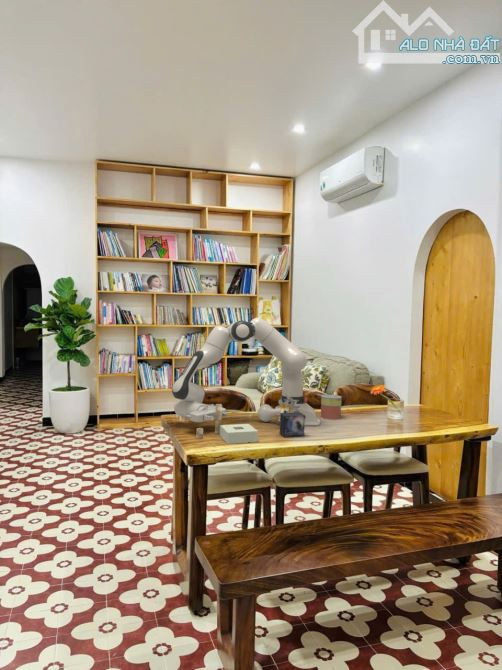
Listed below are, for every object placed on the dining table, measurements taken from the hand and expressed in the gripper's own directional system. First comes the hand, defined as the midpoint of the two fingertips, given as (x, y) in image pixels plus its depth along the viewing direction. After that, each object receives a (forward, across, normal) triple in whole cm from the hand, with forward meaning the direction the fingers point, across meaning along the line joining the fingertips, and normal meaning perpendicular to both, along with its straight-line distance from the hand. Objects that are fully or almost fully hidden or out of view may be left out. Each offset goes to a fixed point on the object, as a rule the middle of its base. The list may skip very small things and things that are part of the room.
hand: (219, 417), depth 228 cm
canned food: (+19, +70, +8) cm, 73 cm away
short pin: (-1, -12, +8) cm, 15 cm away
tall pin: (-1, 0, +8) cm, 8 cm away
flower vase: (+9, +34, +8) cm, 36 cm away
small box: (+26, +23, +8) cm, 35 cm away
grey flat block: (+12, 0, +8) cm, 15 cm away
